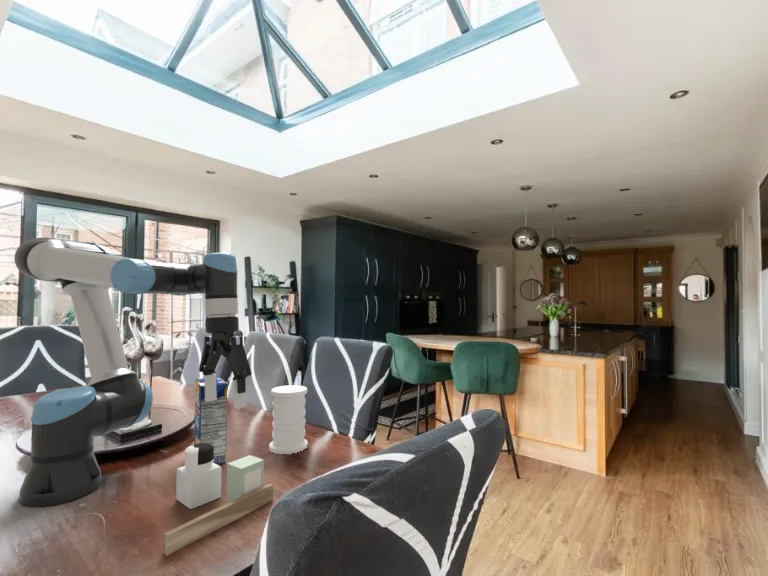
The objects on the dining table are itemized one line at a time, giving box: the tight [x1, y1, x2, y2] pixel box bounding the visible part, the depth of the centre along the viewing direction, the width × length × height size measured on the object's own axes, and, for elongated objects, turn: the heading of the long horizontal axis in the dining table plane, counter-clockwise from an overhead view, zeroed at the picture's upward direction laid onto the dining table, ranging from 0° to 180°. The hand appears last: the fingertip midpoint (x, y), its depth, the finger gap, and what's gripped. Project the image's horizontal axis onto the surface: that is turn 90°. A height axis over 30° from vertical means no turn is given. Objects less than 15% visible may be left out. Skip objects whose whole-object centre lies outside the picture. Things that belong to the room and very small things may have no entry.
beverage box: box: [193, 376, 228, 465], centre depth 115 cm, size 7×11×22 cm, turn 32°
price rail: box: [162, 483, 274, 557], centre depth 81 cm, size 2×24×4 cm, turn 147°
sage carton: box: [226, 454, 265, 504], centre depth 90 cm, size 5×6×9 cm
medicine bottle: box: [175, 443, 222, 510], centre depth 92 cm, size 7×7×12 cm
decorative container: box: [268, 384, 309, 455], centre depth 124 cm, size 12×12×18 cm
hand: (224, 403), depth 97 cm, fingers open, 13 cm apart
